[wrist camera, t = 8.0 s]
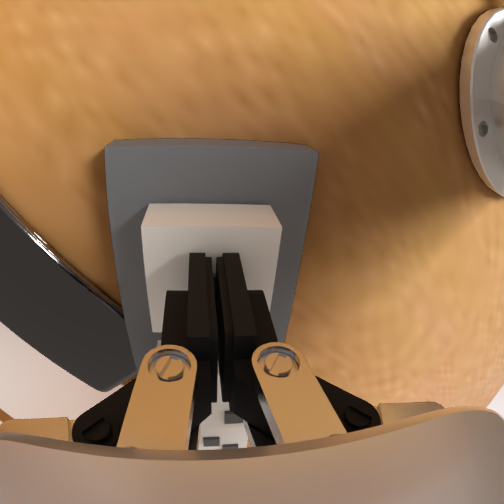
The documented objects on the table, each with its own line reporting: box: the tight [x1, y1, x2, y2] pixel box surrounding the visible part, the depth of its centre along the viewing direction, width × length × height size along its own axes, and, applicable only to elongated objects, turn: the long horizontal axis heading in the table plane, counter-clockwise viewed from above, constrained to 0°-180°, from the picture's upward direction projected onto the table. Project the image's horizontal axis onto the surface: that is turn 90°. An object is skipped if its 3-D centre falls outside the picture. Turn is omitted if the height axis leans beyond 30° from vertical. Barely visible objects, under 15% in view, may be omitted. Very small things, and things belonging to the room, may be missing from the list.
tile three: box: [198, 426, 248, 450], centre depth 18 cm, size 5×5×2 cm
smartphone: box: [0, 194, 137, 392], centre depth 14 cm, size 7×1×16 cm
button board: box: [104, 138, 319, 440], centre depth 17 cm, size 21×8×2 cm, turn 175°
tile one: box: [141, 203, 282, 332], centre depth 12 cm, size 5×5×2 cm
